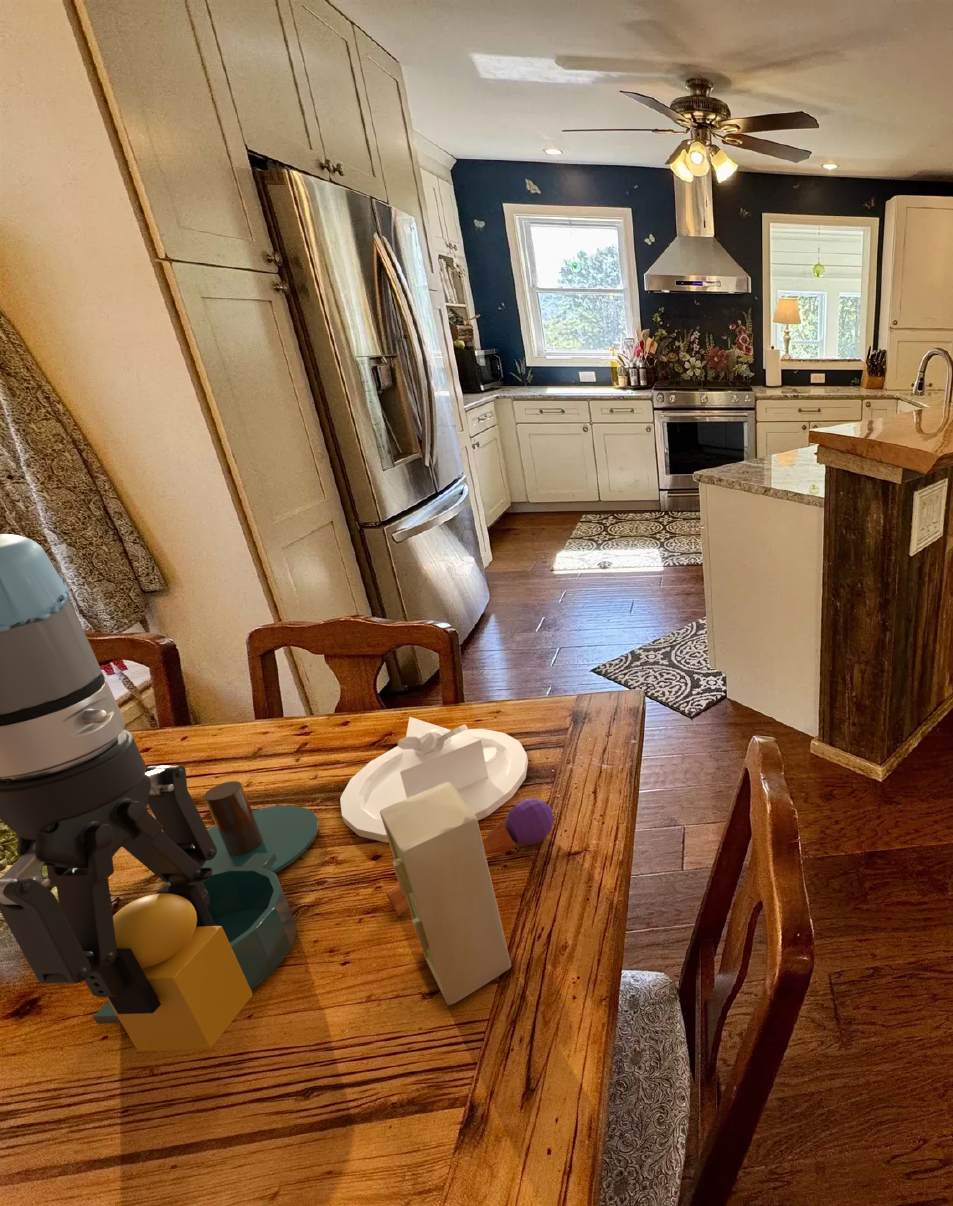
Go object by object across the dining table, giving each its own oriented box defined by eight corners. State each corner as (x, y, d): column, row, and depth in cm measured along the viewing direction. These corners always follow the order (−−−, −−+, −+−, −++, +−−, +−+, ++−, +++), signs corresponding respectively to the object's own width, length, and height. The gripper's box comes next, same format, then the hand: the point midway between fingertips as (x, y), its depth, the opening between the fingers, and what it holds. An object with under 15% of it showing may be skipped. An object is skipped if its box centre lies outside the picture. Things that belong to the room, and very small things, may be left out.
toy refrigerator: (415, 962, 70) (370, 811, 62) (485, 923, 75) (451, 778, 67) (439, 1014, 65) (393, 857, 57) (512, 968, 70) (479, 818, 62)
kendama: (376, 873, 76) (534, 784, 89) (394, 912, 78) (546, 819, 91) (390, 894, 72) (553, 798, 85) (409, 934, 74) (566, 834, 87)
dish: (556, 782, 98) (547, 721, 94) (370, 871, 82) (348, 801, 77) (490, 718, 114) (479, 662, 109) (322, 782, 97) (301, 719, 92)
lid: (132, 901, 76) (98, 835, 72) (232, 812, 90) (208, 753, 86) (266, 899, 77) (240, 834, 73) (345, 811, 91) (326, 752, 87)
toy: (134, 1055, 55) (63, 936, 49) (189, 993, 60) (130, 878, 54) (207, 1053, 55) (145, 934, 49) (256, 991, 60) (204, 877, 55)
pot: (49, 1059, 60) (18, 1013, 58) (217, 890, 78) (199, 849, 76) (209, 1055, 61) (185, 1009, 58) (339, 888, 79) (325, 848, 76)
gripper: (-39, 845, 38) (117, 1090, 47) (214, 684, 55) (292, 886, 64) (-177, 847, 37) (7, 1093, 46) (122, 684, 54) (213, 888, 63)
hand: (172, 973), depth 55 cm, fingers closed on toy, 5 cm apart
